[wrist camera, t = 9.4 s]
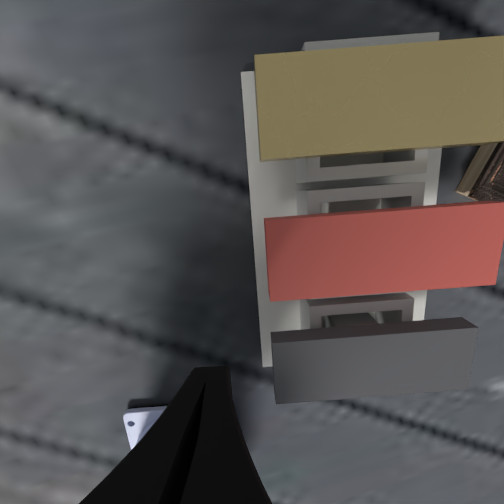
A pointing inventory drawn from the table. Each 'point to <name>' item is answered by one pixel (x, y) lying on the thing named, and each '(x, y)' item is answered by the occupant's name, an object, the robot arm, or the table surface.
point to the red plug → (383, 250)
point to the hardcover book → (485, 174)
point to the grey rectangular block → (372, 358)
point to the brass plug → (380, 98)
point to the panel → (333, 207)
